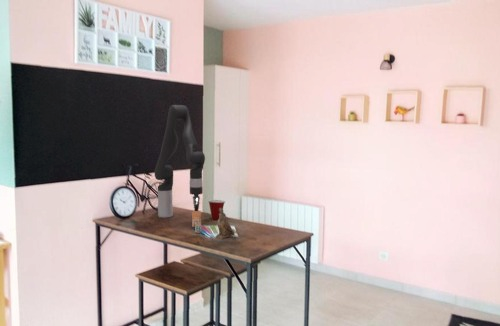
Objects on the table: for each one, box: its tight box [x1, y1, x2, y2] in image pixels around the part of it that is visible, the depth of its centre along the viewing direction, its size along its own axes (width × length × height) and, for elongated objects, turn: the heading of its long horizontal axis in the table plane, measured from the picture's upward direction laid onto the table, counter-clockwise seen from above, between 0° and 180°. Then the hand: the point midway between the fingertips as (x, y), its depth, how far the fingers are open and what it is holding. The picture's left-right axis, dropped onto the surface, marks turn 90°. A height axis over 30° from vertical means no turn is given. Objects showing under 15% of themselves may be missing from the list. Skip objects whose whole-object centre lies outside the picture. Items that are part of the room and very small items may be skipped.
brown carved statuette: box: [215, 208, 235, 240], centre depth 227 cm, size 12×6×18 cm, turn 143°
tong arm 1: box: [193, 219, 199, 234], centre depth 244 cm, size 18×1×4 cm, turn 11°
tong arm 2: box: [196, 219, 202, 234], centre depth 244 cm, size 18×1×4 cm, turn 11°
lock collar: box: [191, 210, 202, 228], centre depth 247 cm, size 3×5×9 cm, turn 101°
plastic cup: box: [208, 199, 226, 221], centre depth 269 cm, size 11×11×12 cm
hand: (196, 214), depth 251 cm, fingers closed
